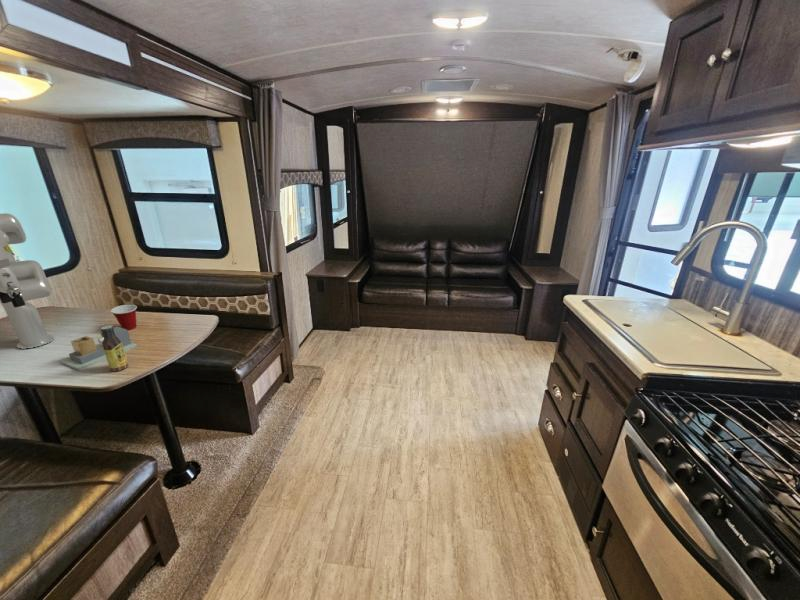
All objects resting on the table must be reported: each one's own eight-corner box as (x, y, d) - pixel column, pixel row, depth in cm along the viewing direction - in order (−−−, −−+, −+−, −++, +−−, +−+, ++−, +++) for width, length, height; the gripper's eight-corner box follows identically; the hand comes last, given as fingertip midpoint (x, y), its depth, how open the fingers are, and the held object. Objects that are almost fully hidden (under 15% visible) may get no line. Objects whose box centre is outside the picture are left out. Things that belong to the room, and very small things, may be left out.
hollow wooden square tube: (90, 347, 150) (86, 335, 148) (97, 350, 148) (93, 338, 146) (75, 353, 146) (70, 341, 143) (82, 355, 144) (77, 344, 141)
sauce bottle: (125, 371, 141) (111, 330, 133) (108, 373, 139) (92, 331, 132) (132, 362, 146) (118, 323, 139) (115, 364, 145) (101, 324, 137)
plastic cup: (125, 334, 171) (118, 313, 166) (112, 330, 174) (105, 310, 170) (147, 325, 180) (141, 306, 176) (134, 322, 184) (128, 302, 179)
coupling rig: (61, 363, 145) (54, 345, 142) (119, 340, 165) (114, 324, 161) (79, 370, 140) (72, 352, 137) (137, 346, 160) (132, 330, 156)
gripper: (20, 264, 128) (37, 304, 135) (-2, 259, 134) (16, 297, 141) (-8, 269, 122) (11, 311, 128) (-29, 263, 128) (-10, 303, 134)
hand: (13, 304), depth 135 cm, fingers open, 9 cm apart
